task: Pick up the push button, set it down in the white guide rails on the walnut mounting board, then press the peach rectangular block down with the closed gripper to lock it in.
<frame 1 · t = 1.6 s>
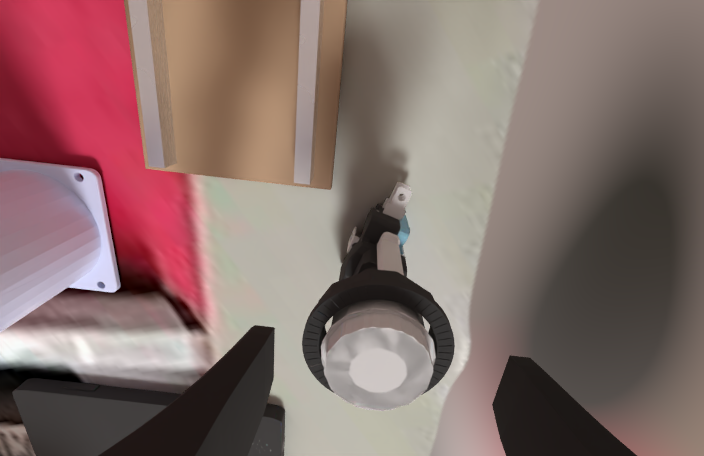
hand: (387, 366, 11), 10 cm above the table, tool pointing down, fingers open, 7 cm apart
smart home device: (165, 420, 28), on the table
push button: (379, 231, 21), on the table
white guide rails: (222, 17, 15), on the mounting board, point 2 cm above the table
mounting board: (239, 21, 17), on the table
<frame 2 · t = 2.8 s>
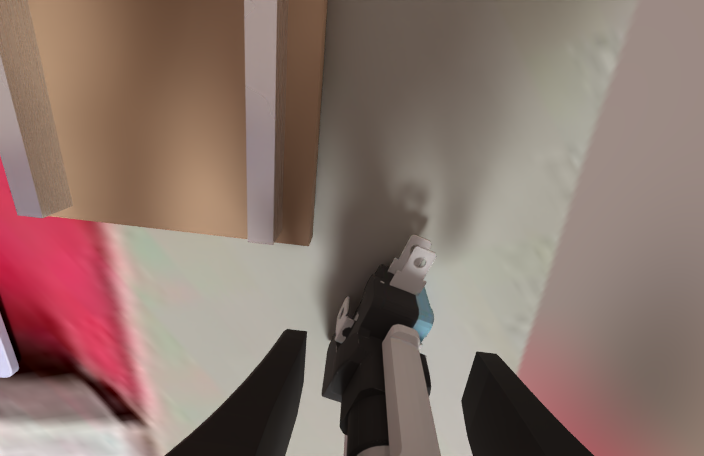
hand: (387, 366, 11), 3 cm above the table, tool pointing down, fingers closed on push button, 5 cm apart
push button: (383, 300, 14), on the table, touching gripper
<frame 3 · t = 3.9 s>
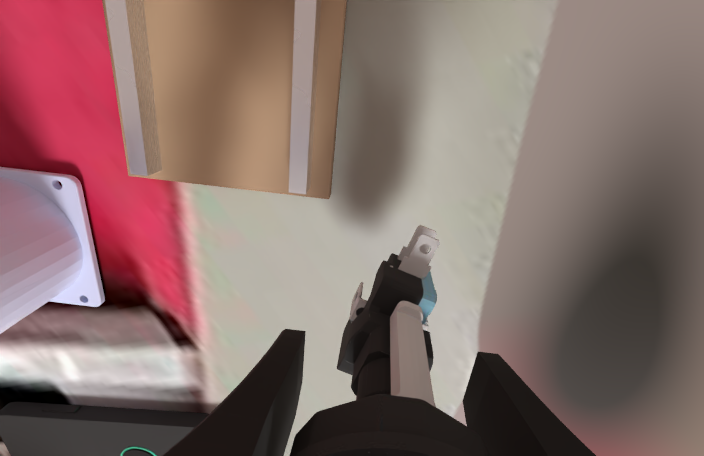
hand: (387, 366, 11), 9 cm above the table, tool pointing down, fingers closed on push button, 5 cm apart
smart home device: (154, 438, 27), on the table
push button: (394, 287, 15), point 4 cm above the table, touching gripper
white guide rails: (208, 9, 13), on the mounting board, point 2 cm above the table
mounting board: (229, 15, 15), on the table
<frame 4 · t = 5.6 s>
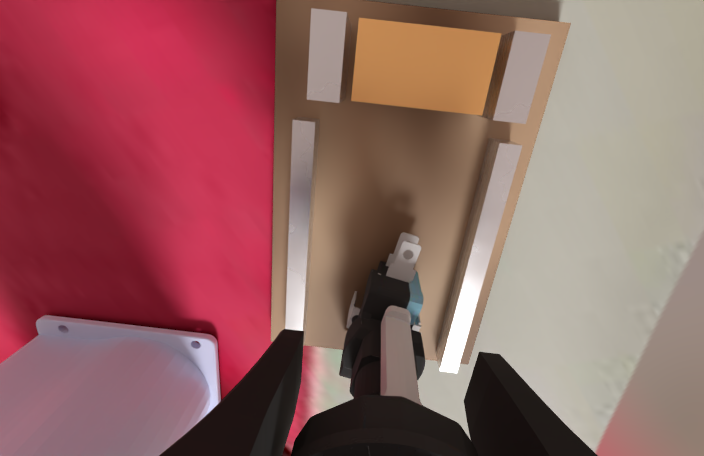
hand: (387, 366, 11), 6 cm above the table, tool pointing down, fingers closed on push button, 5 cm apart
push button: (387, 292, 16), point 1 cm above the table, touching gripper, mounting board
white guide rails: (392, 229, 14), on the mounting board, point 2 cm above the table
peach rectangular block: (419, 69, 11), point 3 cm above the table, slide at 0.0 cm
mounting board: (390, 207, 15), on the table
when the fingers open (6 cm above the table, at t = 6.3 s): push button stays where it is, resting on mounting board.
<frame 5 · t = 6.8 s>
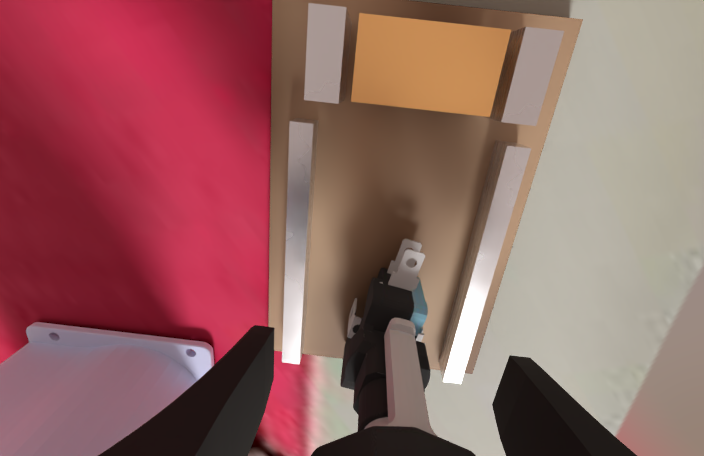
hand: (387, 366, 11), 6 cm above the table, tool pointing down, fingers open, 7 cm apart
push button: (388, 298, 16), point 1 cm above the table, touching mounting board
white guide rails: (393, 235, 13), on the mounting board, point 2 cm above the table
peach rectangular block: (423, 68, 10), point 3 cm above the table, slide at 0.0 cm
mounting board: (391, 212, 15), on the table
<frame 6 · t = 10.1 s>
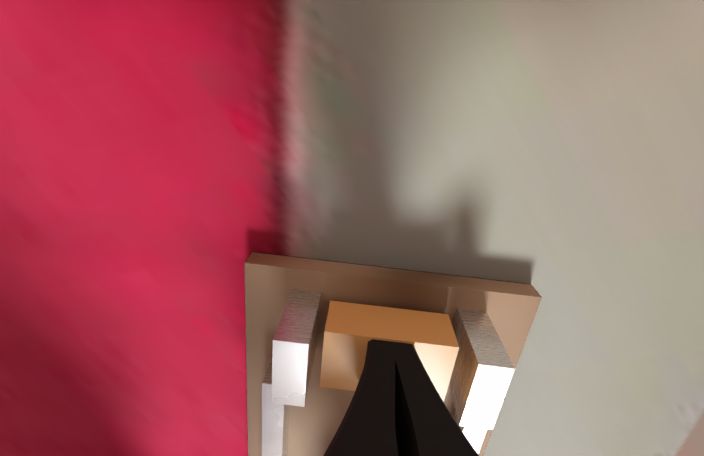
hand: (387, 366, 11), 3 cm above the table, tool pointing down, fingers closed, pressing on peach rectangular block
peach rectangular block: (385, 349, 11), point 2 cm above the table, slide at 0.7 cm, touching gripper
mounting board: (366, 417, 15), on the table
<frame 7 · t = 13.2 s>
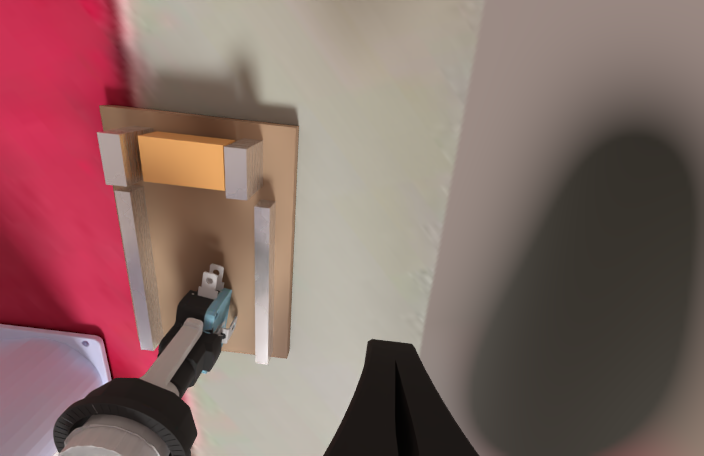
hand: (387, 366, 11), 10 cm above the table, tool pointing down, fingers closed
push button: (217, 303, 22), point 1 cm above the table, touching mounting board
white guide rails: (195, 262, 19), on the mounting board, point 2 cm above the table
peach rectangular block: (190, 160, 17), point 2 cm above the table, slide at 0.7 cm
mounting board: (211, 243, 21), on the table
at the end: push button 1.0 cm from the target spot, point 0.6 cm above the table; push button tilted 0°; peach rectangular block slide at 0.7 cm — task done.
